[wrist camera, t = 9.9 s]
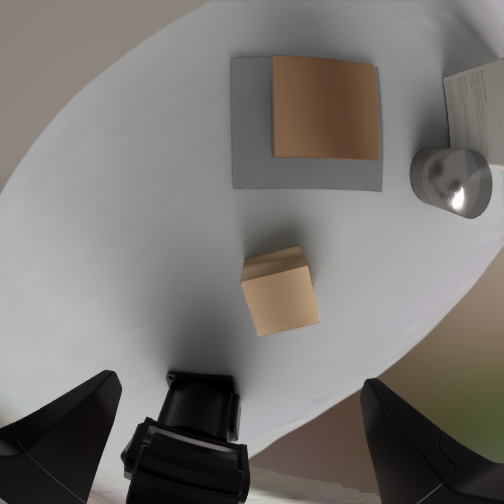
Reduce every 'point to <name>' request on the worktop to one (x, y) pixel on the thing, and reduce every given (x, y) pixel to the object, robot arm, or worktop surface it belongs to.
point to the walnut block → (323, 109)
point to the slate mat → (260, 141)
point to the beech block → (279, 291)
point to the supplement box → (478, 111)
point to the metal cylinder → (452, 180)
